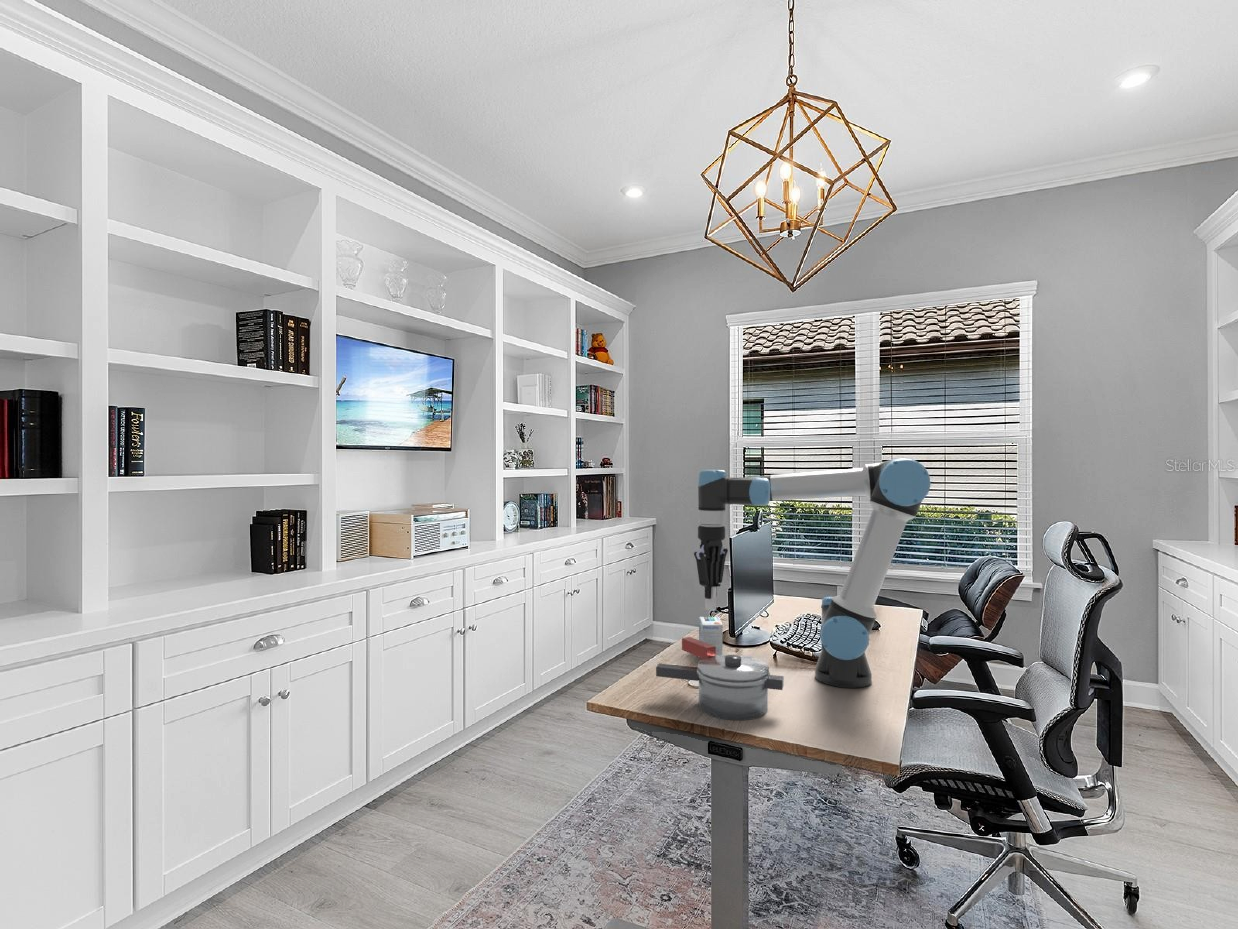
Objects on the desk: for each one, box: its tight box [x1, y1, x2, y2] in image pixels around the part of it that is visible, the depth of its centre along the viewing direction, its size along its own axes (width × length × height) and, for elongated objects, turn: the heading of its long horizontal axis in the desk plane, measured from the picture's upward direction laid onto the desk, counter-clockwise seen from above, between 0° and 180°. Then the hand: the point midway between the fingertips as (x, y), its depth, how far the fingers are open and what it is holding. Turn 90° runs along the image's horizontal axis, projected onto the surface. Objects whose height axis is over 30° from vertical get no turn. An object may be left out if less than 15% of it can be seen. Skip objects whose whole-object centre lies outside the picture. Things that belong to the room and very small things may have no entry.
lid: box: [681, 636, 770, 682], centre depth 172 cm, size 28×18×4 cm, turn 31°
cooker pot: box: [655, 663, 785, 721], centre depth 169 cm, size 32×18×9 cm, turn 71°
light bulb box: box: [698, 616, 724, 659], centre depth 213 cm, size 11×7×11 cm, turn 178°
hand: (710, 609), depth 186 cm, fingers closed
